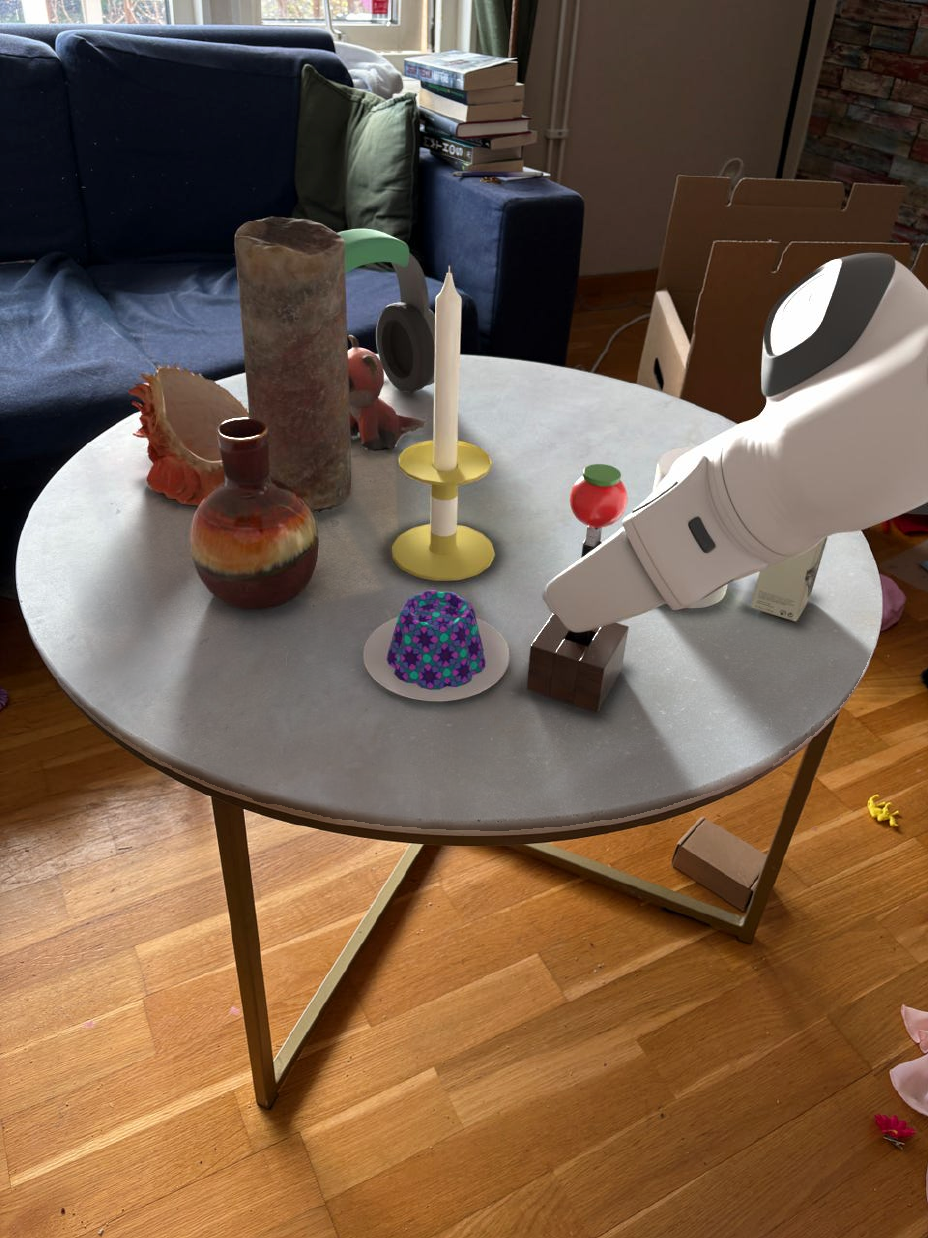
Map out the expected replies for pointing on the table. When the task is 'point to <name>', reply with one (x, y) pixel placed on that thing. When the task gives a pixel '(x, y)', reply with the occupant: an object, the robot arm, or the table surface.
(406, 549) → the candle
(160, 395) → the seashell
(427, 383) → the headphones
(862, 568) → the table surface
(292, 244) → the brown textured cylinder
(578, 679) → the block
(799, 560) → the box
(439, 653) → the pudding
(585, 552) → the joystick
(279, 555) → the vase
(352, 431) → the stuffed fox
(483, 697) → the table surface
